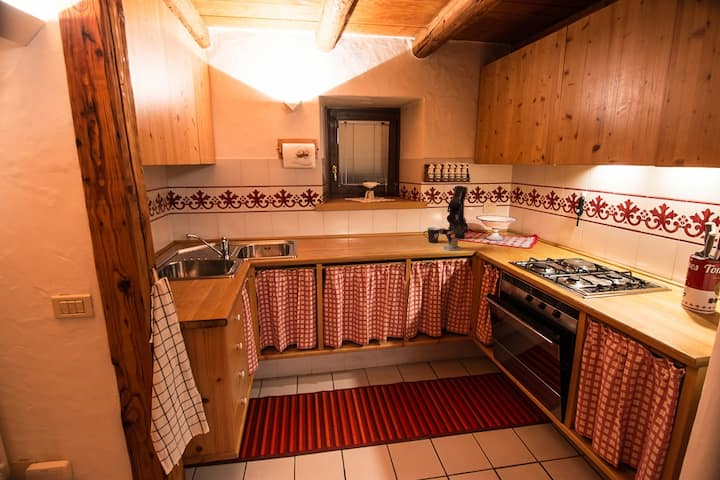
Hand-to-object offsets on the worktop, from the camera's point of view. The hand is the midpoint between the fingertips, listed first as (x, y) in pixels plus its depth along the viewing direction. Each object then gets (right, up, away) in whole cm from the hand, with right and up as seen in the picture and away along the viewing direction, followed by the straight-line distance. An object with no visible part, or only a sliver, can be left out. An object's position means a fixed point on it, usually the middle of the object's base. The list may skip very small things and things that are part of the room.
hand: (452, 243), depth 237 cm
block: (0, -1, 0) cm, 1 cm away
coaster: (0, -4, +1) cm, 4 cm away
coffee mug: (-11, 0, +19) cm, 21 cm away
